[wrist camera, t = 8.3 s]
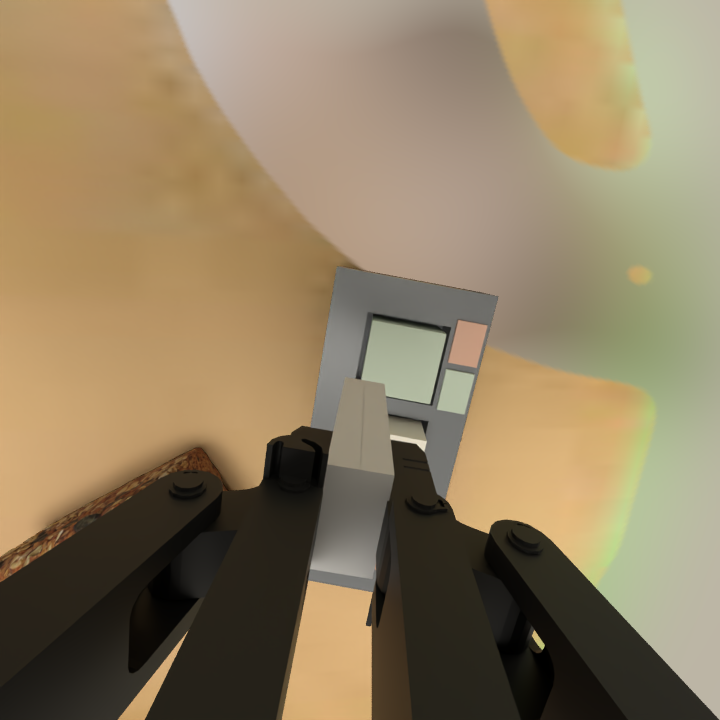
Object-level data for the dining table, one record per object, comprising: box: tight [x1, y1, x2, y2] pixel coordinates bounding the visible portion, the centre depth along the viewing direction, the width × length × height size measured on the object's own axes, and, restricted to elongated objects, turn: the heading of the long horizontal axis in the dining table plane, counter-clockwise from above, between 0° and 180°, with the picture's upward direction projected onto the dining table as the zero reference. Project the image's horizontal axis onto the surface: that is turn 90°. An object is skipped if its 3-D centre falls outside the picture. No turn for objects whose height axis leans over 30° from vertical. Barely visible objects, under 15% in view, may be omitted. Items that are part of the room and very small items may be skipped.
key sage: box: [361, 314, 447, 404], centre depth 29 cm, size 5×5×4 cm
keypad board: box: [308, 266, 498, 592], centre depth 31 cm, size 25×11×4 cm, turn 170°
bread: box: [0, 448, 228, 582], centre depth 32 cm, size 19×11×10 cm, turn 118°
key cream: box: [388, 415, 427, 451], centre depth 28 cm, size 5×5×4 cm
